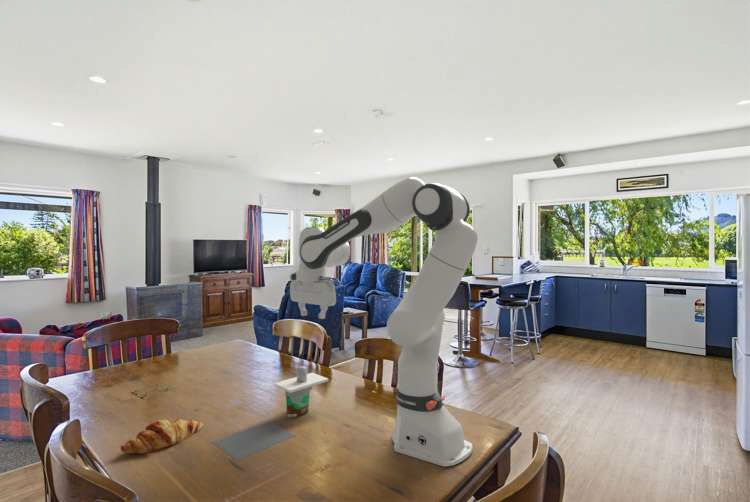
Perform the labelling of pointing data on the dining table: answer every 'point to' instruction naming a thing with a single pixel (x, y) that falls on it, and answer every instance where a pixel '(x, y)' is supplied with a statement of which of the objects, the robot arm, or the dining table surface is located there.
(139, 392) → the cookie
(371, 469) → the dining table surface
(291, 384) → the lid
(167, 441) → the croissant
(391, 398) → the dining table surface
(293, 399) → the food container
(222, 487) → the dining table surface
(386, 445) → the dining table surface
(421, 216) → the robot arm
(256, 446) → the mat
